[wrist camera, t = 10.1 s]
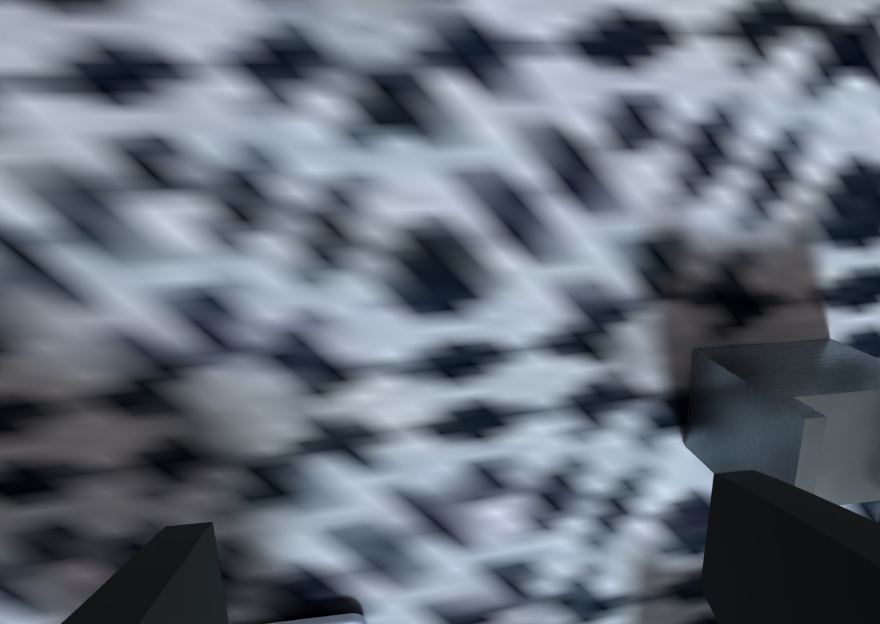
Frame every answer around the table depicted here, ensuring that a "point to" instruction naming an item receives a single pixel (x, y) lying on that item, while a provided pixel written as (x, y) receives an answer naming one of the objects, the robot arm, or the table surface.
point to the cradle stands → (790, 415)
